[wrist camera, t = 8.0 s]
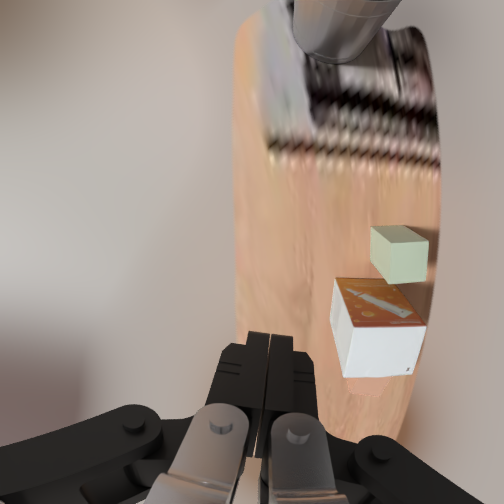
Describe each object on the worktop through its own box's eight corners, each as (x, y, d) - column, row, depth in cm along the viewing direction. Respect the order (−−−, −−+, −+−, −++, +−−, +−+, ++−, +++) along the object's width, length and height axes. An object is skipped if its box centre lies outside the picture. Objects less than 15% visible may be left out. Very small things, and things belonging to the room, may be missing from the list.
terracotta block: (352, 333, 41) (363, 366, 34) (379, 338, 41) (394, 371, 34) (341, 357, 43) (349, 393, 35) (367, 362, 43) (379, 397, 35)
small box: (391, 277, 39) (429, 325, 26) (383, 319, 40) (413, 376, 28) (333, 276, 39) (353, 327, 27) (328, 319, 41) (342, 380, 29)
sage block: (370, 226, 37) (391, 243, 29) (402, 225, 36) (428, 241, 29) (370, 260, 38) (388, 284, 31) (401, 258, 38) (425, 281, 30)
